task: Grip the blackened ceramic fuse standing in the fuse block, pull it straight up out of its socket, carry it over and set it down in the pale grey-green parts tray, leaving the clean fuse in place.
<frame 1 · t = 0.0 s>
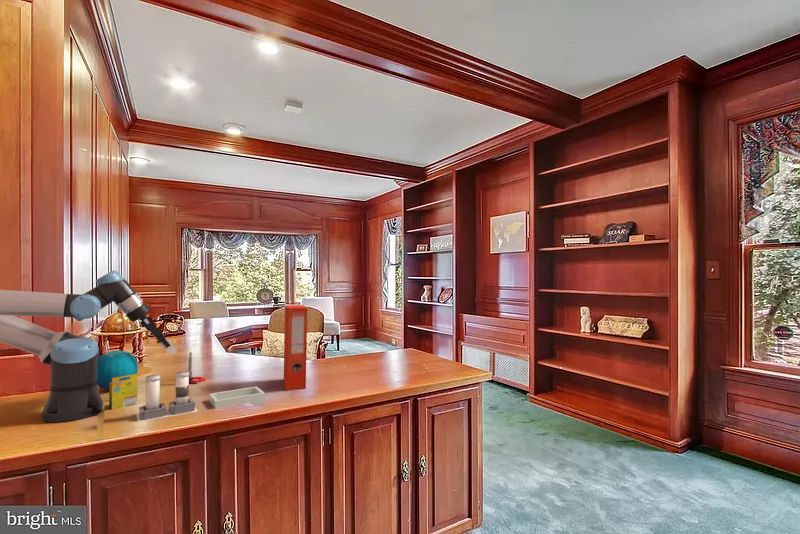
hand: (172, 350, 155), 15 cm above the worktop, tool tilted 35°, fingers open, 13 cm apart
parts tray: (237, 404, 137), on the worktop
decorative orb: (115, 389, 155), on the worktop
blown fuse: (181, 410, 127), point 1 cm above the worktop, touching fuse block
fuse block: (167, 417, 124), on the worktop
file binder: (294, 384, 163), on the worktop
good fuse: (152, 415, 122), resting on fuse block
tow hook: (193, 381, 167), on the worktop
crayon box: (123, 411, 130), on the worktop
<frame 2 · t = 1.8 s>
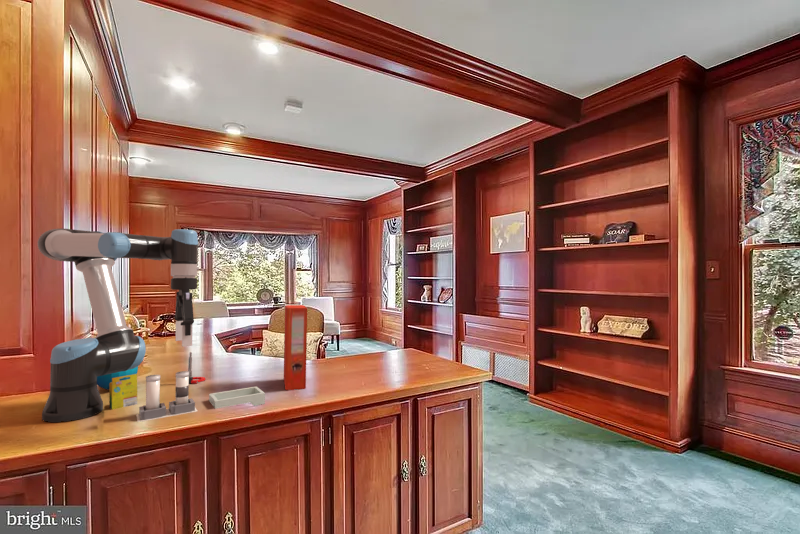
hand: (183, 343, 128), 23 cm above the worktop, tool pointing down, fingers open, 13 cm apart
nothing on the worktop moved.
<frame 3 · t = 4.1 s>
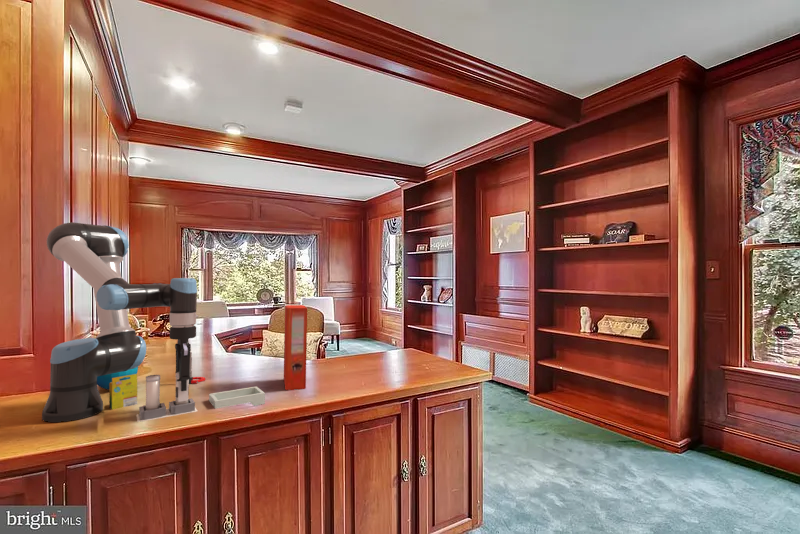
hand: (182, 398, 127), 5 cm above the worktop, tool pointing down, fingers closed on blown fuse, 4 cm apart
blown fuse: (181, 410, 127), point 1 cm above the worktop, touching fuse block, gripper
everything else where it was.
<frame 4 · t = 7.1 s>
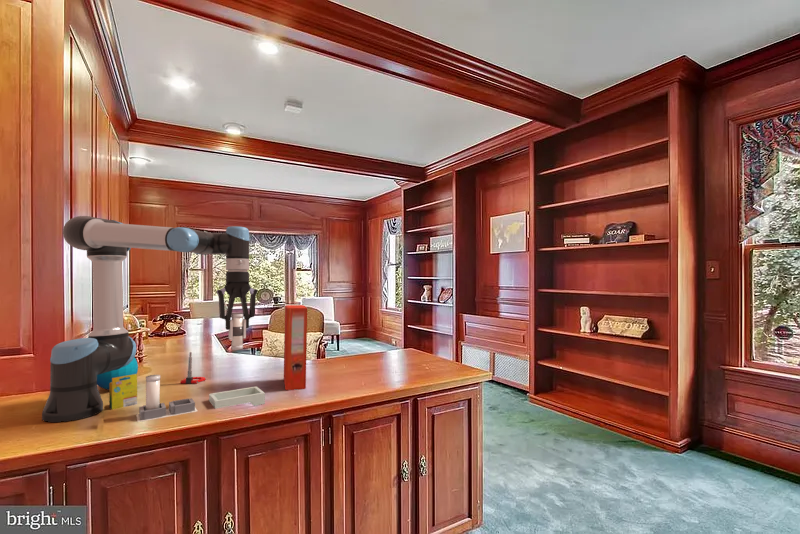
hand: (237, 338, 137), 23 cm above the worktop, tool pointing down, fingers closed on blown fuse, 4 cm apart
blown fuse: (237, 348, 137), point 19 cm above the worktop, touching gripper
everything else where it was.
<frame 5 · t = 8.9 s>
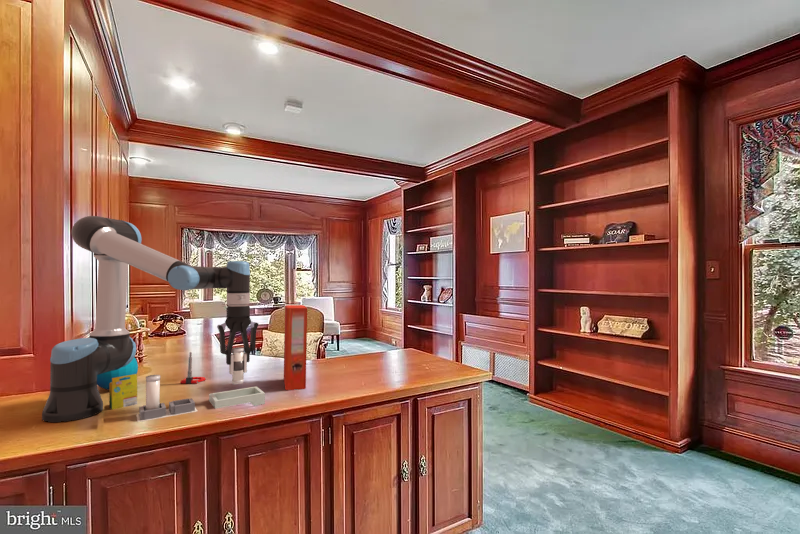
hand: (237, 372, 137), 11 cm above the worktop, tool pointing down, fingers closed on blown fuse, 4 cm apart
blown fuse: (237, 383, 137), point 7 cm above the worktop, touching gripper
everything else where it was.
when the fingers open (5 cm above the worktop, at t = 10.1 s): blown fuse stays where it is, resting on parts tray.
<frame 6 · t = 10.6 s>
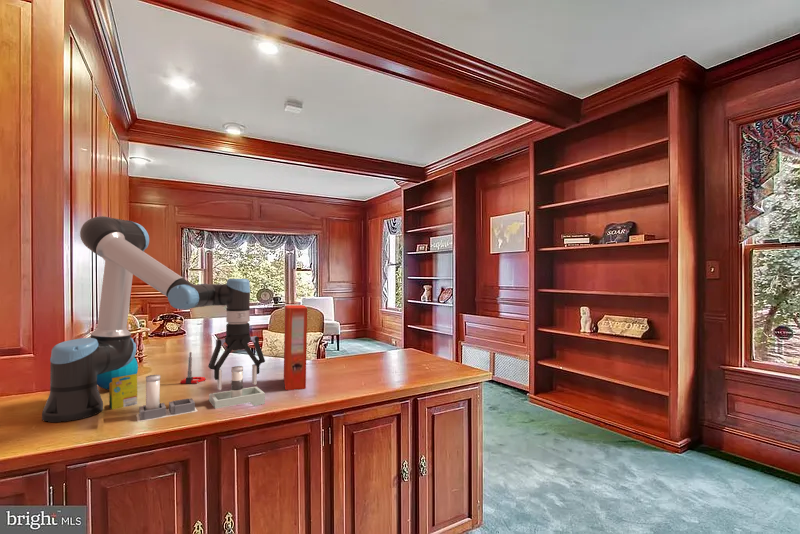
hand: (237, 386, 137), 6 cm above the worktop, tool pointing down, fingers open, 11 cm apart
blown fuse: (236, 402, 137), point 1 cm above the worktop, touching parts tray
everything else where it was.
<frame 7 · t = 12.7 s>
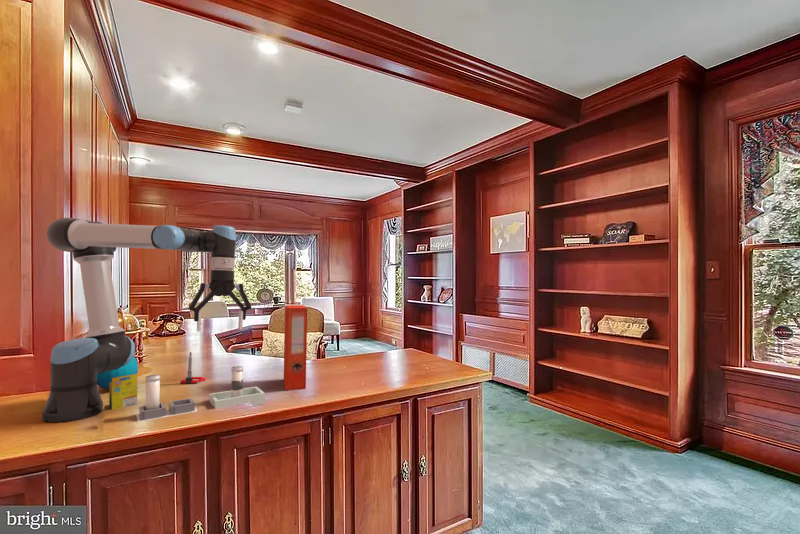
hand: (220, 330, 139), 26 cm above the worktop, tool pointing down, fingers open, 13 cm apart
nothing on the worktop moved.
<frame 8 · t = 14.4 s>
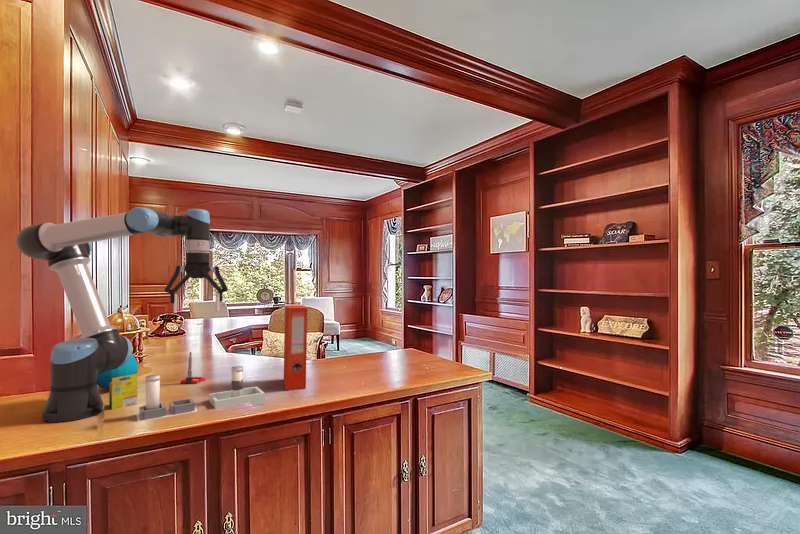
hand: (196, 311, 141), 32 cm above the worktop, tool pointing down, fingers open, 13 cm apart
nothing on the worktop moved.
at the end: blown fuse inside the target area on the parts tray (0.0 cm from its centre), point 0.8 cm above the parts tray's base; the gripper is holding nothing; blown fuse moved 17.0 cm from its start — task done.
